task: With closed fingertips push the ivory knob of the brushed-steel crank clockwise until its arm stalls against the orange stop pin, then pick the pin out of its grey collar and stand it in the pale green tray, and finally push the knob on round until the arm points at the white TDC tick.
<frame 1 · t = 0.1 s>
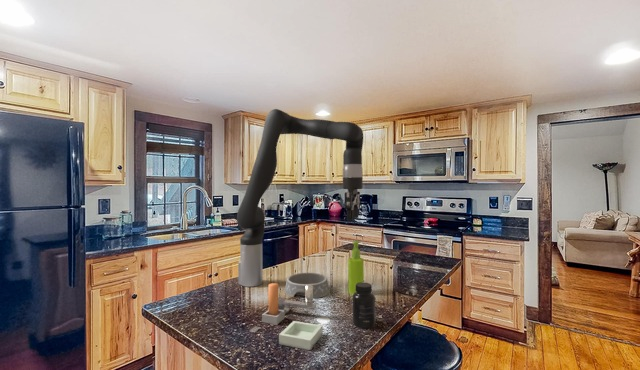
hand: (352, 219, 118), 29 cm above the counter, fingers open, 8 cm apart
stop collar: (273, 319, 97), on the counter
supplement bottle: (363, 324, 94), on the counter
dog bowl: (307, 291, 125), on the counter
soap dispenser: (356, 292, 123), on the counter
tray: (301, 339, 85), on the counter
crank flange: (278, 310, 104), on the counter
stop pin: (273, 302, 97), in the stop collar
crank: (293, 296, 102), point 5 cm above the counter, hinge at 0.0°
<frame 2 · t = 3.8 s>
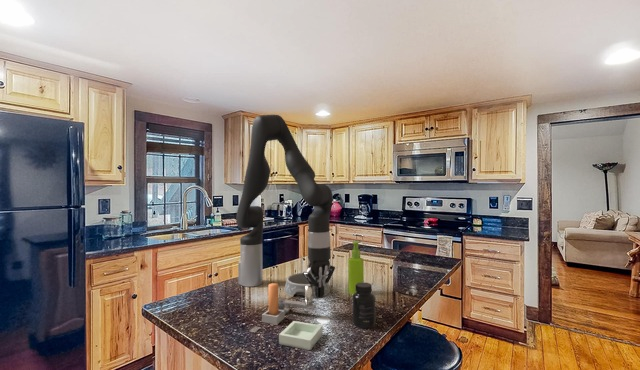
hand: (319, 297, 103), 5 cm above the counter, fingers closed
crank: (293, 296, 102), point 5 cm above the counter, hinge at 0.6°, touching gripper
everything else where it was.
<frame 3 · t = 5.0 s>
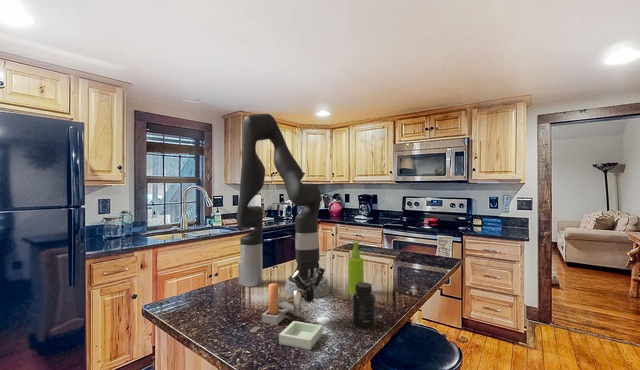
hand: (309, 301, 98), 5 cm above the counter, fingers closed
crank: (287, 299, 100), point 5 cm above the counter, hinge at 30.4°, touching gripper
everything else where it was.
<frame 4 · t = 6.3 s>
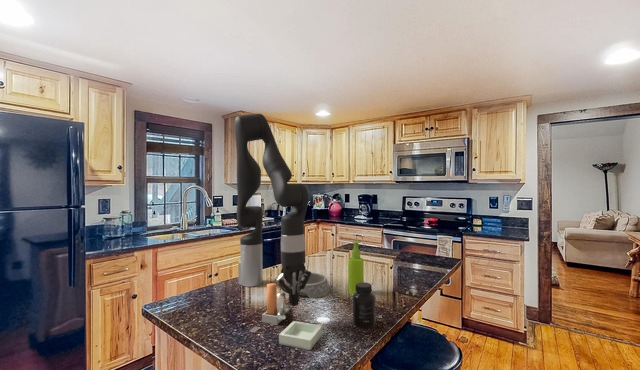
hand: (294, 304, 96), 5 cm above the counter, fingers closed
stop pin: (271, 302, 97), in the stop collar, touching crank
crank: (279, 300, 99), point 5 cm above the counter, hinge at 58.2°, touching gripper, stop pin
everything else where it was.
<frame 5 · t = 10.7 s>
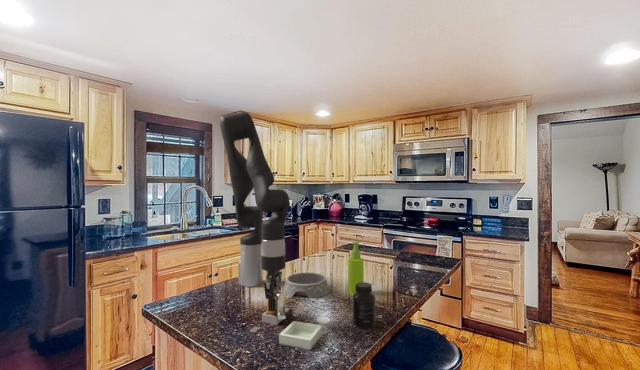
hand: (273, 308, 97), 4 cm above the counter, fingers closed on stop pin, 3 cm apart
stop pin: (271, 302, 97), in the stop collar, touching gripper
crank: (279, 300, 99), point 5 cm above the counter, hinge at 58.1°, touching gripper
everything else where it was.
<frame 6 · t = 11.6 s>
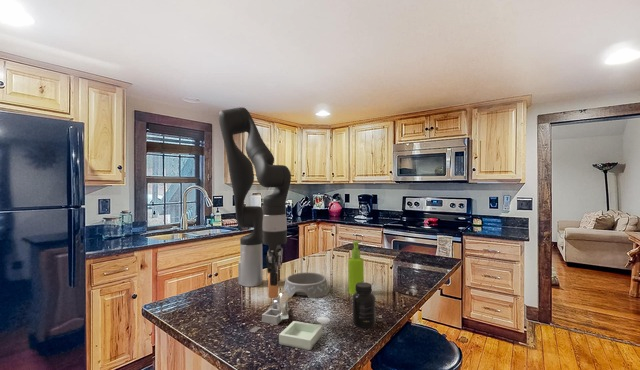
hand: (275, 282, 98), 11 cm above the counter, fingers closed on stop pin, 3 cm apart
stop pin: (273, 278, 98), point 13 cm above the counter, touching gripper
crank: (281, 300, 99), point 5 cm above the counter, hinge at 54.2°
everything else where it was.
when the fingers open (6 cm above the counter, at t = 15.2 s): stop pin drops 1 cm, resting on tray.
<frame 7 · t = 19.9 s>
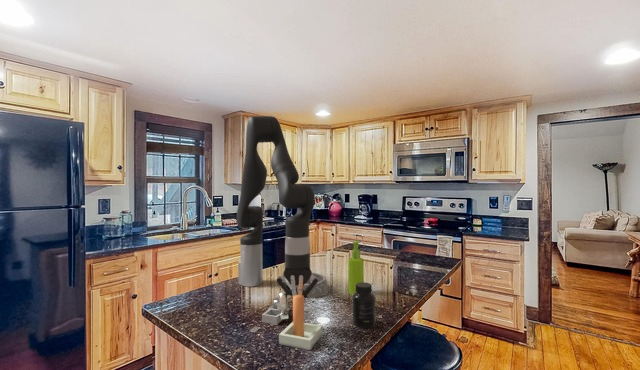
hand: (297, 308, 93), 5 cm above the counter, fingers closed
stop pin: (298, 316, 85), in the tray
crank: (281, 300, 99), point 5 cm above the counter, hinge at 54.2°, touching gripper
everything else where it was.
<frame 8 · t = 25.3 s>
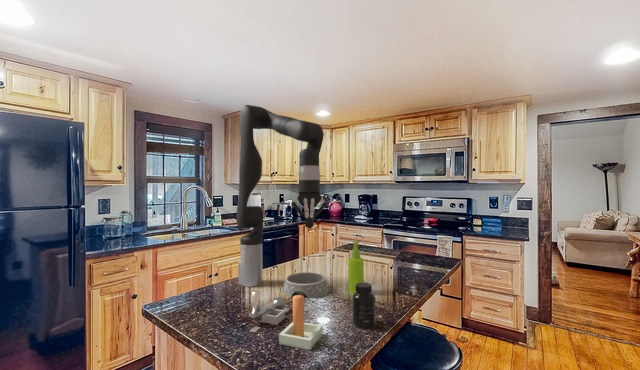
hand: (309, 228, 109), 27 cm above the counter, fingers closed
crank: (267, 299, 100), point 5 cm above the counter, hinge at 100.5°
everything else where it was.
at the end: crank at +100° (first picture: +0°); stop pin inside the target area on the tray (0.7 cm from its centre), point 6.0 cm above the tray's base; the gripper is holding nothing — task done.
